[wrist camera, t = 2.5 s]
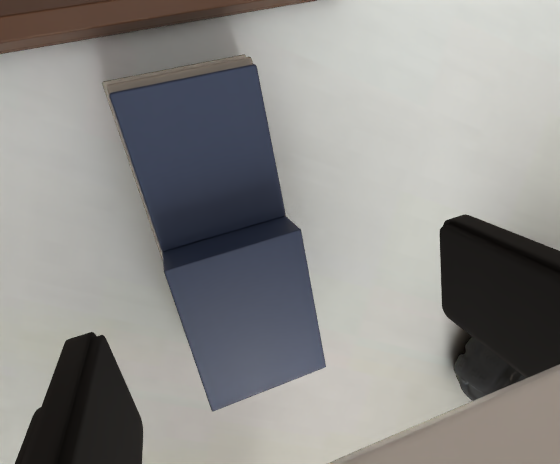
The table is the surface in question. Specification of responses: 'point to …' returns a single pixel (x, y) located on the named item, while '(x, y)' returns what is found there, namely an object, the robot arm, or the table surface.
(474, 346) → the loafer
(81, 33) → the tray
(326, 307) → the table surface
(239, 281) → the blue stair step block
